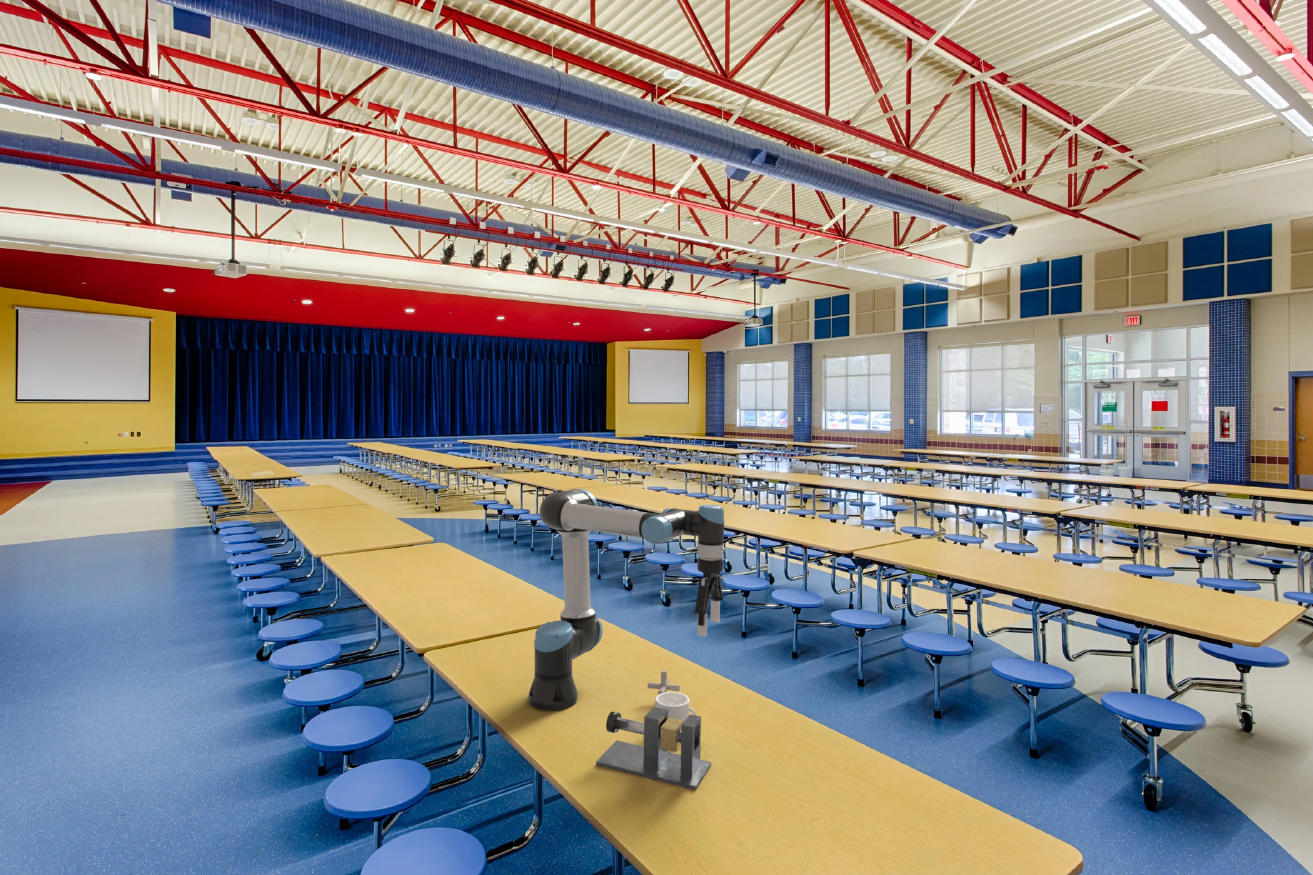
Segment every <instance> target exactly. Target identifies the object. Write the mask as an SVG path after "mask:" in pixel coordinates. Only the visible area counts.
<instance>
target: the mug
mask: <svg viewBox="0 0 1313 875" xmlns="http://www.w3.org/2000/svg"><path fill="white" fill-rule="evenodd" d="M654 705H655V707H656V708H661V709H666V710H668V719H669V718H674V719H679V720H684V721H685V720H686V719H687V717H688V716H689V715H690V712H691V714H692V715H695V716H697V714H696V711H695V710H694V708H692V707H690V697H689V696H688V695H686V694H684V693H682V692H679V691H667V692H665V693H661V694H659V695H658V694H657V696H656V697H655V704H654Z"/></svg>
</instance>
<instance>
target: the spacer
mask: <svg viewBox="0 0 1313 875" xmlns="http://www.w3.org/2000/svg"><path fill="white" fill-rule="evenodd" d="M683 722H684V720H679V719H674V718H669V719H668V720H667V721H666V722H665V723H664V724H663V726H662V727H661V749H663V750H667V752H671V753H677V750H678V742H677V734H678V733H679V732H680V731H681V725H682V724H683Z"/></svg>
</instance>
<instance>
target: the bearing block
mask: <svg viewBox="0 0 1313 875" xmlns="http://www.w3.org/2000/svg"><path fill="white" fill-rule="evenodd" d="M643 718H644V719H643V723H644V735H643V746H642V745H638V744H634V743H630V742H626V741H623V740H615V742H613V743H612V745H610V746H609V747H608V749H607V750H606V751H604V753H603V754H602V755H601V756H599V758H598V759H597V760H595V766H597V767H602V768H606V769H609V770H612V771H618V772H620V773H621V772H622V773H624V774H629V775H633V776H638V777H641V778H645V779H650V780H653V781H658V782H660V783H665V784H670V785H674V786H677V787H680V788H685V789H688V790H694V791H696V790H697V789H698V787H699V786H700V785H701V782H702V781H703V780H704V778H705V776H706V775H707V773H708V771H709V770H710V768H711V767H712V761H708V760H704V759H701V746H702V745H701V742H702V740H701V737H702V716H700V715H696V716H695V715H693V714H692V713H691V714H690V713H689V716H688V717H687V719H686V720H685V721H684V722H683V724H682V725H681V743H680V754H678V753H675V752H671V751H668V750H663V749H661V739H660V732H661V727H662V726H663V724H664V723H665V722H666V721H667V720H668V710H666V709H661V708H656V707H652V708H651V710H649V711H648V713H647V714H645V716H644V717H643ZM694 734H695V740H694Z"/></svg>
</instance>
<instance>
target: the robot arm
mask: <svg viewBox="0 0 1313 875" xmlns="http://www.w3.org/2000/svg"><path fill="white" fill-rule="evenodd" d="M539 515H540V519H541V521H542V522H543V524H544V525H545V526H546V527H549V528H550V529H553V530H556V531H557V533H559V534H558V535H560V536H561V539H562V540H561V541H562V542H561V543H562V546H561V547H562V568H563V570H562V571H563V574H562V575H563V590H564V591H563V593H564V595H563V598H564V602H563V603H564V609H563V610H562V611H561V612H560V613H559V614H560V615H559V616H560V619H559V620H553V621H548V622H545V623H542V624H541V625H540V626H538V627H537V629H536V630H535V634H534V635H535V636H534V639H533V640H534V641H533V643H534V644H533V646H534V677H533V680H532V682H531V686H530V688H529V691H528V704H529V705H530V707H532V708H534V709H536V710H541V711H548V712H549V711H550V712H551V711H559V710H560V711H561V710H564V709H568V708H570V707H572V706H574V705H575V704H576V703H577V701H578V690H577V686H576V683H575V680H574V677H573V660H575V659H577V658H578V657H580V656H582V655H584V654H585V653H588V652H591V651H592V650H593V649H594V648H595V647H596V646H597V645H598V644H599V643H600V641H601V640H602V637H603V632H604V630H603V624H602V621H601V620H599V617H598V616H597V613H596V610H595V609H594V608H593V607H592V605H591V604H592V603H591V601H592V600H591V578H590V577H591V576H590V574H591V572H590V548H589V544H590V543H589V535H590V533H591V532H598V533H604V534H610V535H616V536H617V535H618V536H623V537H630V538H631V537H632V538H637V539H644V540H646V541H647V542H648V543H650V544H662V543H665V542H666V541H668V540H672V539H674V538H678V537H680V536H692V537H697V567H696V568H697V571H698V572H700V573H702V574H703V575H702V578H701V577H700V578H699V579H698V588H697V589H698V590H697V596H696V601H695V609H694V612H693V613H694V614H697V616H696V618H697V619H696V622H697V623H696V636H698V637H704V638H706V637H707V634H708V632H707V631H708V613H707V610H708V605H709V602H710V620H709V621H710V623H717V624H720V620H721V619H720V617H721V602H722V601H723V600H724V597H723V589H722V580H721V573H722V572H723V570H724V560H723V556H724V552H725V551H726V548H725V547H724V537H725V536H724V535H725V534H724V532H725V509H724V507H722V506H721V505H717V504H701V505H700V506H699V507H698V510H691V509H681V508H680V509H679V508H676V507H674V508H673V507H672V508H669V507H667V508H665V509H663V510H662V512H661V513H653V512H651V513H650V512H644V511H635V510H630V509H622V508H615V507H607V506H599V504H598V501H597V499H596V496H595V495H593V494H592V492H590V491H589V490H587V489H585V488H570V489H567V490H563V491H556V492H552V493H549V494H548V495H547V496H546V497H545V498H544V499H543V500H542V501H541V503H540V506H539ZM710 597H711V600H710Z"/></svg>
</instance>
